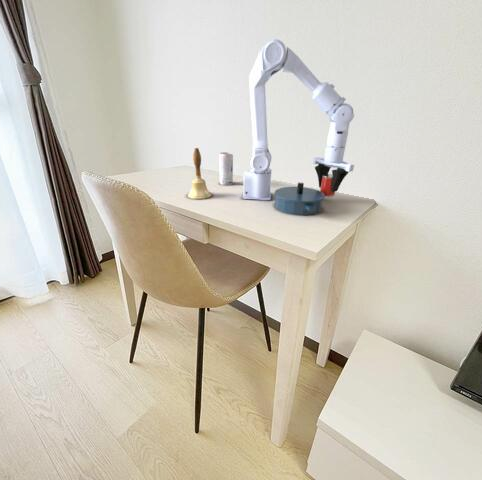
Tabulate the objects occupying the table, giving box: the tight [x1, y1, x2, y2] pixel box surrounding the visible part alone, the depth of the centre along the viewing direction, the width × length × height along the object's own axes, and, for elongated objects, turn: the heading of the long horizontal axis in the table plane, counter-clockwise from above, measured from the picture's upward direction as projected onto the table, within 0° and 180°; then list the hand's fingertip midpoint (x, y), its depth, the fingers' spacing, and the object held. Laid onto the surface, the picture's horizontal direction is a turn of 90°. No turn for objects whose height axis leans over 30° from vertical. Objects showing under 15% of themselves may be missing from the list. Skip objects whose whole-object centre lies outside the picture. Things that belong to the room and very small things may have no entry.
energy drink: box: [218, 151, 234, 186], centre depth 104 cm, size 5×5×12 cm
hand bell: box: [187, 147, 212, 200], centre depth 88 cm, size 8×8×16 cm
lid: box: [274, 182, 326, 203], centre depth 80 cm, size 15×15×4 cm
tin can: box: [319, 173, 336, 198], centre depth 86 cm, size 5×5×6 cm
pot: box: [274, 195, 324, 216], centre depth 81 cm, size 14×20×4 cm
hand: (328, 189), depth 87 cm, fingers closed on tin can, 5 cm apart
